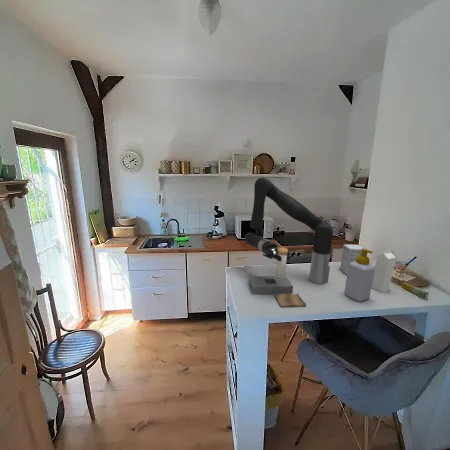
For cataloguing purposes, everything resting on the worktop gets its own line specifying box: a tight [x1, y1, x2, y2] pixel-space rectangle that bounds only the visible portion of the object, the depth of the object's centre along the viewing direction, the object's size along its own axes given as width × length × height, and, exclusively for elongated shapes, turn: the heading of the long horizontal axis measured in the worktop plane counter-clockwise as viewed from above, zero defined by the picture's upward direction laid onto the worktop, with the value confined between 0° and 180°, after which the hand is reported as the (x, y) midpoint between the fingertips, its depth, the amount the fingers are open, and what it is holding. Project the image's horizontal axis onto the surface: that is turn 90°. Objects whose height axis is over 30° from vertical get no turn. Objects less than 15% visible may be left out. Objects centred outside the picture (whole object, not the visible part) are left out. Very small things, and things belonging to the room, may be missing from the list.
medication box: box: [401, 282, 429, 301], centre depth 130 cm, size 12×3×4 cm, turn 20°
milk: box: [371, 249, 397, 293], centre depth 131 cm, size 6×6×22 cm
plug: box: [275, 246, 289, 278], centre depth 121 cm, size 5×5×14 cm
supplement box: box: [339, 243, 363, 276], centre depth 152 cm, size 10×9×17 cm
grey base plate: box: [248, 275, 294, 295], centre depth 130 cm, size 20×12×4 cm, turn 96°
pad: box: [273, 293, 307, 308], centre depth 119 cm, size 12×10×1 cm
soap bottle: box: [343, 247, 375, 302], centre depth 122 cm, size 9×9×25 cm
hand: (285, 258), depth 118 cm, fingers closed on plug, 4 cm apart
